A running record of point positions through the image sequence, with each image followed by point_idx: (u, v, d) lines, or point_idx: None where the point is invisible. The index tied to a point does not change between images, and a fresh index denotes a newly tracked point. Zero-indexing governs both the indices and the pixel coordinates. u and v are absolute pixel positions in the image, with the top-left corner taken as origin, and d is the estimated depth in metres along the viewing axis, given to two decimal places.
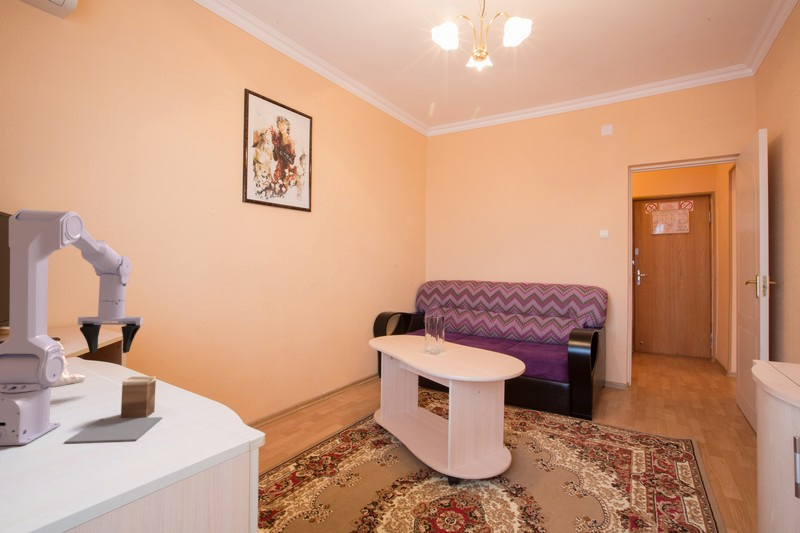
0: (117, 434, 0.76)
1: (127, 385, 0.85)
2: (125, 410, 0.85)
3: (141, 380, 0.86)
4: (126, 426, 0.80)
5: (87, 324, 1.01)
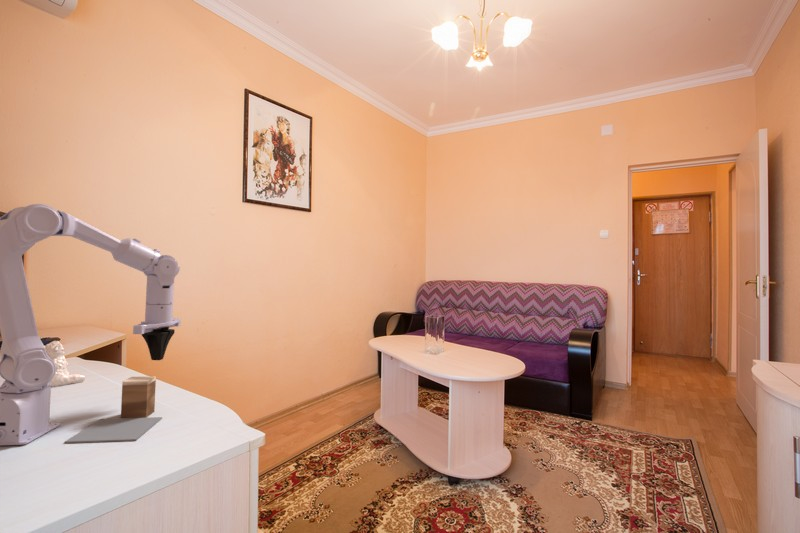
0: (117, 434, 0.76)
1: (127, 385, 0.85)
2: (125, 410, 0.85)
3: (141, 380, 0.86)
4: (126, 426, 0.80)
5: (157, 330, 0.94)
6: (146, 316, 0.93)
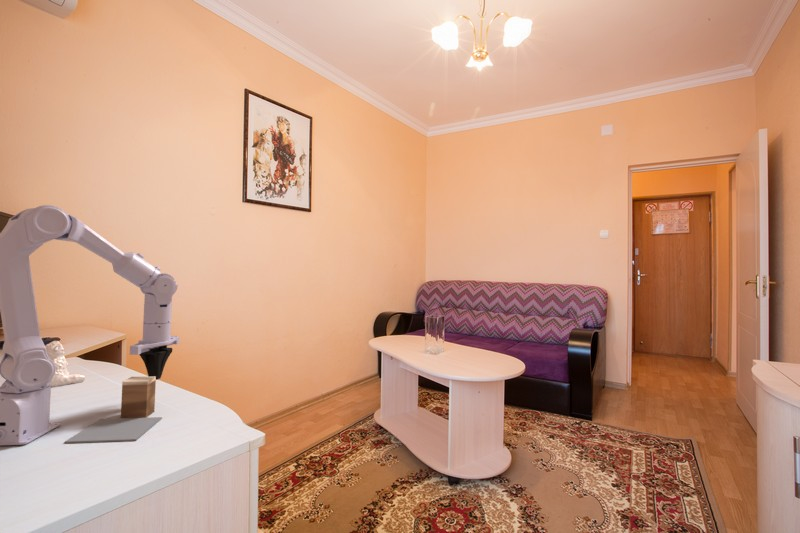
0: (117, 434, 0.76)
1: (127, 385, 0.85)
2: (125, 410, 0.85)
3: (141, 380, 0.86)
4: (126, 426, 0.80)
5: (155, 349, 0.93)
6: (143, 335, 0.92)
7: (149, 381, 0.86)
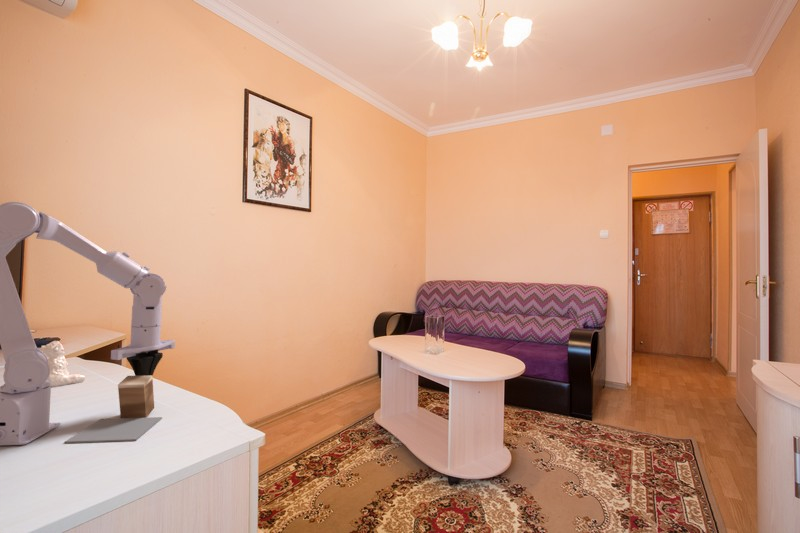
0: (117, 434, 0.76)
1: (123, 388, 0.83)
2: (124, 411, 0.84)
3: (137, 382, 0.84)
4: (126, 426, 0.80)
5: (141, 354, 0.87)
6: (131, 339, 0.87)
7: (145, 383, 0.85)
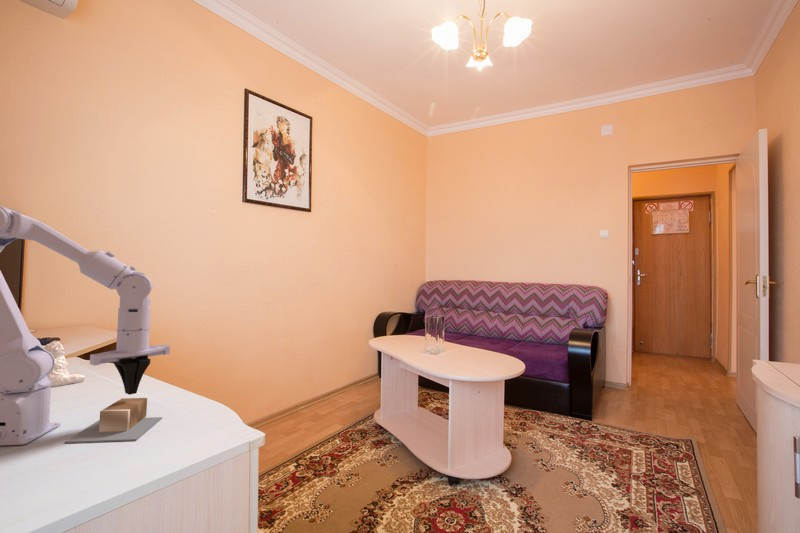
0: (117, 434, 0.76)
1: None
2: None
3: (118, 427, 0.77)
4: None
5: (126, 360, 0.82)
6: None
7: (128, 425, 0.78)
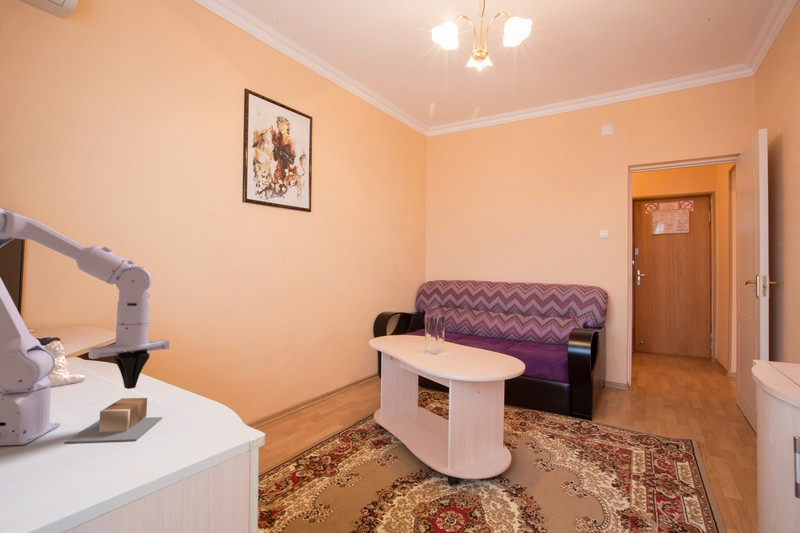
0: (117, 434, 0.76)
1: None
2: None
3: (118, 427, 0.77)
4: None
5: (125, 354, 0.81)
6: None
7: (128, 425, 0.78)
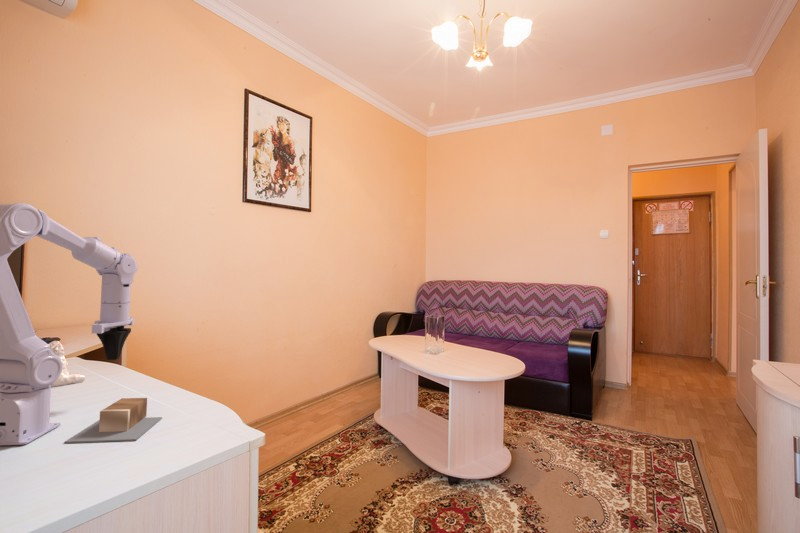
0: (117, 434, 0.76)
1: None
2: None
3: (118, 427, 0.77)
4: None
5: (114, 329, 0.93)
6: (102, 315, 0.92)
7: (128, 425, 0.78)
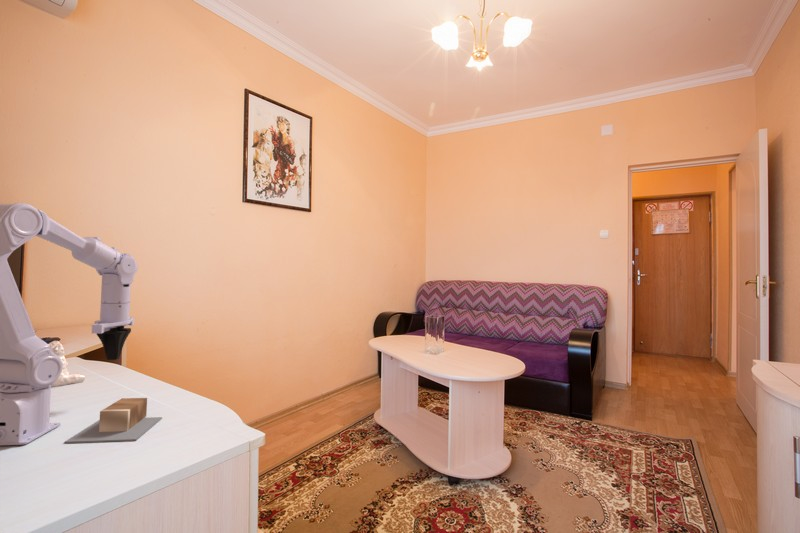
0: (117, 434, 0.76)
1: None
2: None
3: (118, 427, 0.77)
4: None
5: (114, 329, 0.93)
6: (102, 315, 0.92)
7: (128, 425, 0.78)
